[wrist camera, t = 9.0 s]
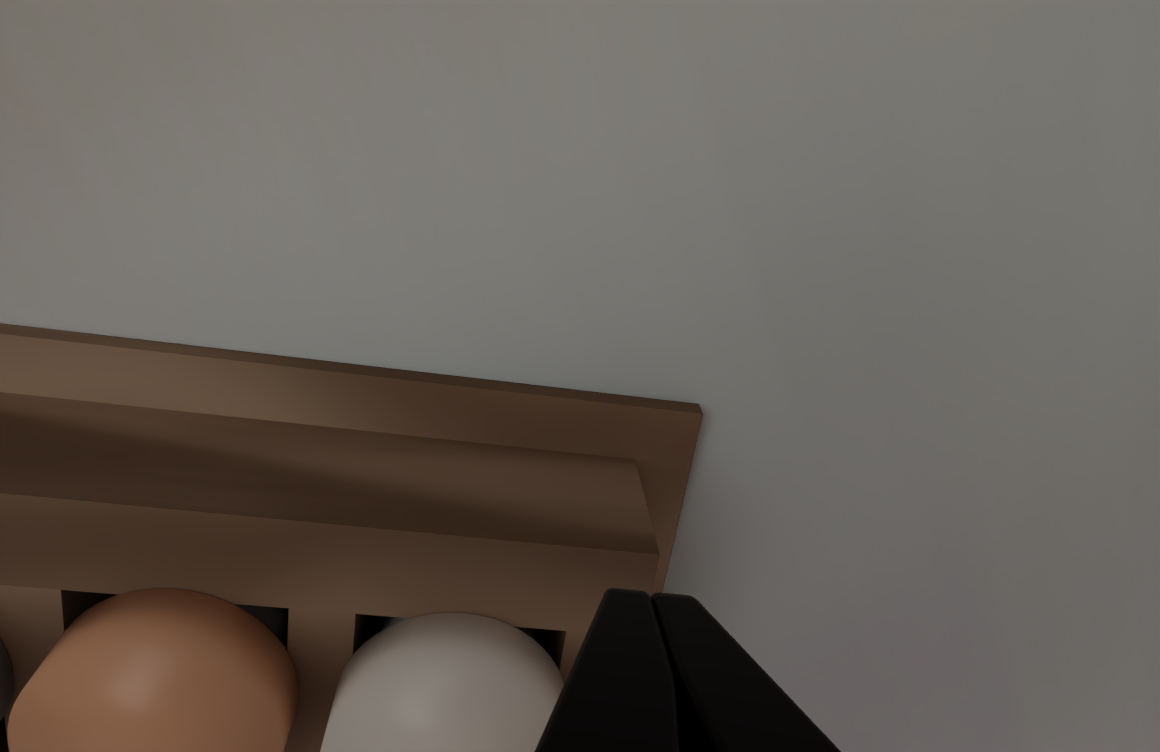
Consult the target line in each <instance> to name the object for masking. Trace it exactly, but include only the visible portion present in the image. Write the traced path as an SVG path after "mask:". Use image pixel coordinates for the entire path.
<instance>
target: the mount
mask: <svg viewBox="0 0 1160 752" xmlns="http://www.w3.org/2000/svg"><path fill="white" fill-rule="evenodd" d="M702 416H703V413H702V411H701V409H700V406H699V404H693V403H684V402H675V401H667V400H658V399H649V398H641V397H632V396H623V395H615V394H606V393H597V392H589V391H580V390H571V389H563V388H554V387H545V386H537V385H528V384H519V383H511V382H502V381H493V380H485V379H476V378H467V377H459V376H450V375H441V374H433V373H424V372H415V371H407V370H398V369H389V368H381V367H372V366H363V365H355V364H346V363H337V362H329V361H320V360H311V359H303V358H294V357H285V356H277V355H268V354H259V353H251V352H242V351H233V350H225V349H216V348H207V347H199V346H190V345H181V344H173V343H164V342H155V341H147V340H138V339H129V338H121V337H112V336H103V335H95V334H86V333H77V332H69V331H60V330H51V329H43V328H34V327H25V326H17V325H8V324H0V640H1V642H2V644H3V645H4V647H5V649H6V652H7V654H8V657H9V660H10V662H11V667H12V672H13V692H12V698H11V701H10V704H9V707H8V709H7V711H6V713H5V715H4V716H3V718H2V720H1V721H0V752H10V750H9V745H8V732H7V728H8V722H9V716H10V713H11V710H12V708H13V705H14V703H15V701H16V699H17V698H18V696H19V694H20V693H21V691H22V690H23V688H24V687H25V685H26V684H27V683H28V681H29V680H30V679H31V677H32V676H33V674H34V673H35V672H36V670H37V669H38V667H39V666H40V665H41V663H42V662H43V661H44V659H45V658H46V656H47V655H48V654H49V652H50V651H51V649H52V648H53V647H54V645H55V644H56V643H57V641H58V640H59V638H60V637H61V636H62V634H63V633H64V631H65V630H66V629H67V628H68V627H69V625H70V624H71V623H72V622H73V621H74V620H75V619H76V618H77V617H78V616H79V615H81V614H82V613H83V612H84V611H86V610H87V609H89V608H90V607H92V606H94V605H95V604H97V603H99V602H101V601H103V600H106V599H108V598H110V597H113V596H116V595H119V594H123V593H126V592H131V591H137V590H143V589H156V588H163V589H180V590H187V591H194V592H198V593H202V594H206V595H210V596H213V597H216V598H218V599H221V600H224V601H226V602H229V603H231V604H241V605H253V606H266V607H278V608H289V615H288V642H287V645H286V648H285V649H286V650H287V652H288V654H289V656H290V657H291V659H292V662H293V665H294V667H295V670H296V673H297V678H298V683H299V699H298V707H297V710H296V713H295V716H294V720H293V723H292V726H291V729H290V732H289V736H288V739H287V742H286V745H285V748H284V752H320V751H321V746H322V742H323V739H324V735H325V731H326V727H327V723H328V720H329V716H330V712H331V708H332V704H333V701H334V697H335V693H336V689H337V685H338V682H339V679H340V676H341V674H342V672H343V670H344V668H345V666H346V664H347V663H348V661H349V660H350V658H351V657H352V656H353V654H354V653H355V652H356V651H357V650H358V649H359V648H360V647H361V646H362V645H363V644H364V643H365V642H366V641H368V640H369V639H370V638H372V637H373V636H374V635H375V634H377V633H379V632H381V631H382V627H383V623H384V618H385V616H388V617H400V618H414V617H418V616H423V615H428V614H436V613H467V614H474V615H481V616H485V617H489V618H493V619H496V620H499V621H501V622H504V623H507V624H509V625H511V626H513V627H523V628H534V640H535V641H536V642H537V643H538V644H540V645H541V646H542V647H543V648H544V649H545V651H546V652H547V653H548V654H549V655H550V656H551V658H552V659H553V661H554V662H555V664H556V666H557V667H558V669H559V672H560V674H561V677H562V679H563V683H564V684H565V681H566V679H567V677H568V674H569V672H570V670H571V668H572V665H573V663H574V661H575V659H576V656H577V654H578V652H579V650H580V647H581V645H582V643H583V640H584V638H585V636H586V634H587V631H588V629H589V627H590V625H591V622H592V620H593V618H594V615H595V613H596V611H597V609H598V606H599V604H600V602H601V600H602V597H603V595H604V593H605V591H606V590H607V589H609V588H622V589H631V590H640V591H645V592H647V593H648V594H649V595H650V596H651V595H652V594H654V593H657V592H660V593H662V590H663V586H664V582H665V577H666V573H667V569H668V564H669V560H670V556H671V551H672V547H673V542H674V538H675V534H676V529H677V525H678V521H679V516H680V512H681V508H682V503H683V499H684V494H685V490H686V486H687V481H688V477H689V473H690V468H691V464H692V460H693V455H694V451H695V446H696V442H697V438H698V433H699V429H700V425H701V420H702Z"/></svg>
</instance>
